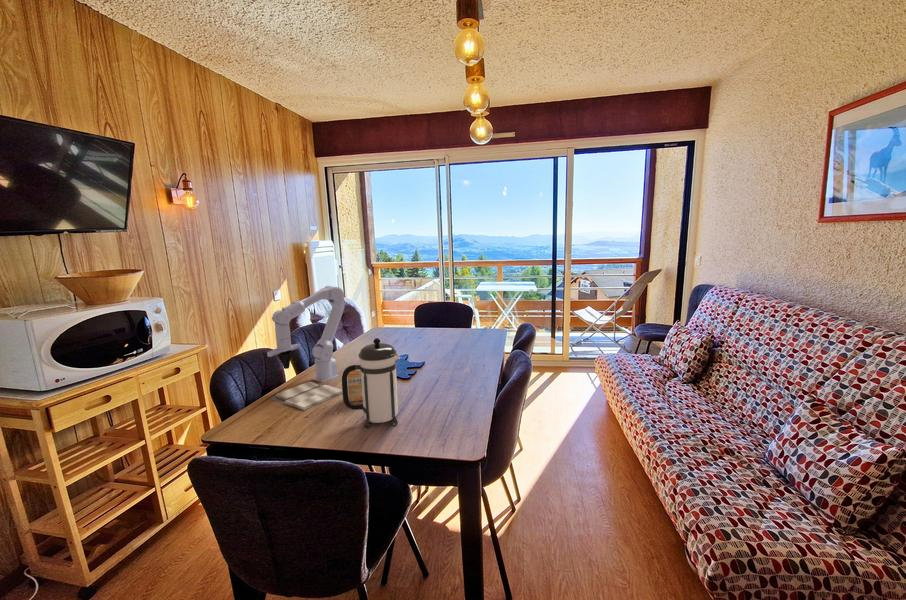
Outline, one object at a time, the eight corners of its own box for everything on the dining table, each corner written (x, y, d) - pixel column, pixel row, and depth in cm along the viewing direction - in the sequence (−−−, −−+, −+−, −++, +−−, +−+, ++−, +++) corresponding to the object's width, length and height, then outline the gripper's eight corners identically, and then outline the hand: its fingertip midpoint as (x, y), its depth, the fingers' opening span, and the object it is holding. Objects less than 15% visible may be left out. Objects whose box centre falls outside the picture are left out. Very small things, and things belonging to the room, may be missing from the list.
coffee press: (382, 406, 141) (377, 330, 136) (411, 417, 131) (407, 336, 126) (343, 423, 128) (337, 340, 123) (372, 438, 117) (366, 348, 113)
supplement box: (348, 402, 145) (346, 371, 143) (348, 397, 149) (346, 367, 147) (369, 399, 147) (367, 368, 145) (369, 395, 151) (367, 365, 150)
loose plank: (309, 383, 163) (309, 381, 163) (319, 387, 160) (319, 385, 160) (276, 396, 150) (276, 394, 150) (286, 401, 146) (286, 398, 146)
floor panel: (312, 383, 166) (312, 380, 166) (345, 393, 154) (345, 389, 154) (270, 399, 149) (270, 396, 149) (303, 412, 137) (303, 408, 137)
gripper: (292, 333, 165) (295, 362, 167) (261, 340, 153) (265, 371, 155) (302, 335, 162) (305, 364, 164) (271, 342, 150) (274, 374, 152)
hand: (286, 368), depth 159 cm, fingers closed
